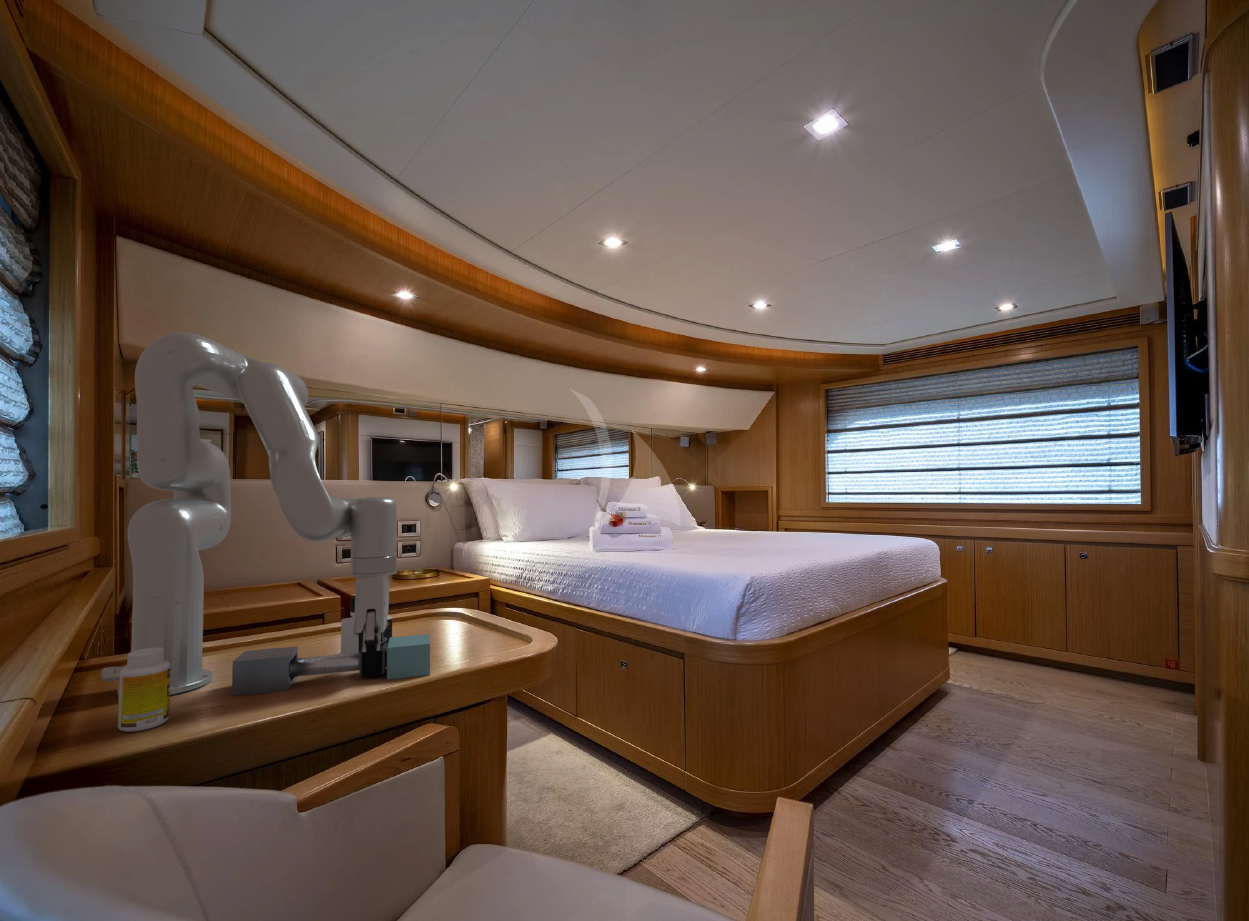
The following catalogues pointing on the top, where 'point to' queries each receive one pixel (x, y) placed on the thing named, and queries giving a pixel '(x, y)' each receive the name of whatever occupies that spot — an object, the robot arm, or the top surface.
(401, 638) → the block
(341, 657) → the grey long rod
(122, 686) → the supplement bottle
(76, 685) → the top surface
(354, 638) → the medicine bottle
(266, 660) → the sleeve
